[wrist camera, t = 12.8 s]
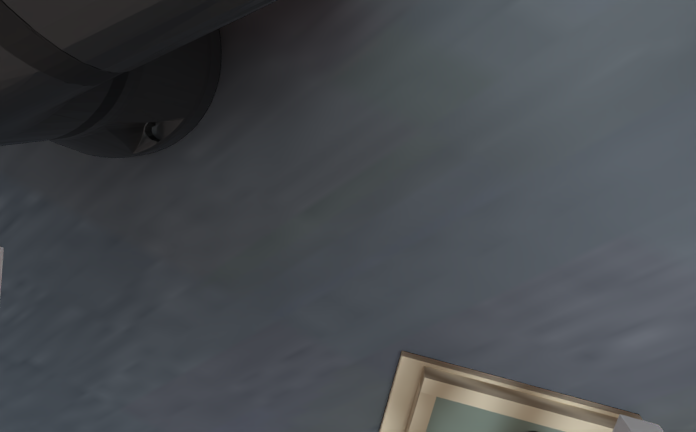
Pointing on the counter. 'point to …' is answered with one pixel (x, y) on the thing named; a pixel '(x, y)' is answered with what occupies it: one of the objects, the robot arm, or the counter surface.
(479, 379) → the picture frame
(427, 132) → the counter surface
